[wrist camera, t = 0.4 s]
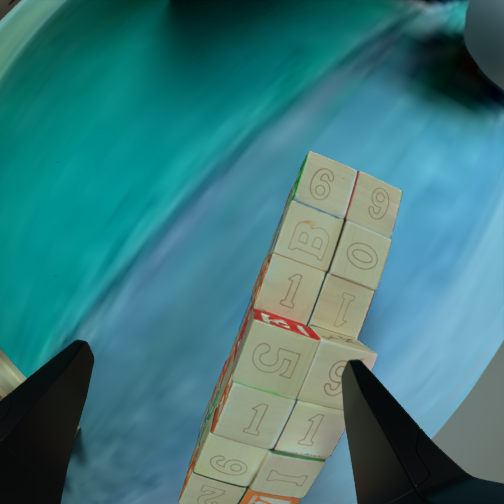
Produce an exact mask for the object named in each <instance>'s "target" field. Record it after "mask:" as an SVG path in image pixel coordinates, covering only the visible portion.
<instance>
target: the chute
mask: <svg viewBox="0 0 504 504" xmlns="http://www.w3.org/2000/svg"><path fill="white" fill-rule="evenodd" d="M26 379H27V378H26V377H25V376H24V375H23V374H22V373H21V372H20V371H19V370H18V369H17V367H16V366H15V365H14V364H13V363H12V362H11V361H10V360H9V358H8V357H7V356H6V355H5V354H4V353H3V351H2V350H1V349H0V395H1V396H2V397H3V398H4V397H5V396H7V395H8V394H9V393H10V392H12V391H13V390H14V389H15V388H16V387H18V386H19V385H20V384H21V383H22V382H24V381H25V380H26ZM79 429H80V427H79V426H78V428H77V432H76V435H77V433H78V431H79ZM76 435H75V437H76Z"/></svg>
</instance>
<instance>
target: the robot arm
mask: <svg viewBox="0 0 504 504" xmlns="http://www.w3.org/2000/svg"><path fill="white" fill-rule="evenodd" d="M93 365H94V355H93V353H92V351H91V349H90V346H89V344H88V343H87V342H86V341H83V340H75V341H74V342H73V343H71V344H70V345H69V346H68V347H66V348H65V349H64V350H62V351H61V352H60V353H59V354H57V355H56V356H55V357H54V358H52V359H51V360H50V361H49V362H47V363H46V364H45V365H43V366H42V367H41V368H40V369H38V370H37V371H36V372H35V373H34V374H32V375H31V376H30V377H29V378H27V379H26V380H25V381H24V382H22V383H21V384H20V385H19V386H18V387H16V388H15V389H14V390H13V391H12V392H10V393H9V394H8V395H7V396H5V397H4V398H3V399H2V400H0V504H61V498H62V493H63V486H64V482H65V477H66V472H67V468H68V464H69V459H70V455H71V451H72V447H73V443H74V439H75V435H76V432H77V428H78V425H79V421H80V418H81V414H82V411H83V407H84V404H85V401H86V397H87V393H88V388H89V383H90V378H91V374H92V369H93ZM341 383H342V397H343V412H344V421H345V427H346V433H347V439H348V444H349V450H350V456H351V462H352V469H353V475H354V482H355V489H356V496H357V503H358V504H504V484H503V483H498V482H493V481H487V480H483V479H479V478H476V477H473V476H471V475H469V474H468V473H466V472H465V471H464V470H463V469H461V467H459V466H458V465H457V464H456V463H455V462H454V461H453V460H452V459H451V458H449V457H448V456H447V455H446V454H445V453H444V452H443V451H442V450H441V449H439V447H438V446H437V445H435V443H434V442H433V441H432V440H431V439H430V438H429V437H428V436H427V435H426V434H425V432H424V431H423V430H422V429H420V427H419V426H418V424H417V423H416V422H415V421H414V420H413V419H412V418H411V416H410V415H409V414H408V413H407V412H406V411H405V410H404V408H403V407H402V406H401V405H400V404H399V403H398V402H397V400H396V399H395V398H394V397H393V396H392V395H391V394H390V392H389V391H388V390H387V389H386V388H385V387H384V386H383V385H382V383H381V382H380V381H379V380H378V379H377V378H376V377H375V375H374V374H373V373H372V372H371V371H370V370H369V369H368V368H367V366H366V365H365V364H364V363H363V362H362V361H361V360H359V359H352V360H348V361H347V363H346V366H345V368H344V370H343V373H342V376H341Z"/></svg>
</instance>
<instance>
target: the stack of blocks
mask: <svg viewBox="0 0 504 504" xmlns="http://www.w3.org/2000/svg"><path fill="white" fill-rule="evenodd" d="M401 198H402V191H401V190H399V189H397V188H395V187H393V186H391V185H389V184H387V183H385V182H383V181H381V180H379V179H377V178H375V177H373V176H371V175H368V174H366V173H364V172H362V171H356V170H355V169H353V168H351V167H348V166H346V165H344V164H341V163H339V162H337V161H334V160H331V159H329V158H327V157H325V156H322V155H319V154H317V153H314V152H312V151H309V152H308V154H307V155H306V157H305V159H304V161H303V164H302V165H301V168H300V171H299V174H298V176H297V179H296V181H295V183H294V185H293V187H292V189H291V192H290V194H289V197H288V200H287V203H286V206H285V208H284V211H283V214H282V217H281V220H280V222H279V223H278V225H277V227H276V230H275V233H274V236H273V238H272V241H271V244H270V246H269V249H268V252H267V254H266V257H265V260H264V262H263V265H262V267H261V270H260V273H259V275H258V278H257V281H256V283H255V286H254V289H253V291H252V296H251V299H250V302H249V304H248V307H247V309H246V312H245V315H244V317H243V320H242V322H241V325H240V328H239V331H238V333H237V336H236V338H235V341H234V343H233V346H232V349H231V351H230V354H229V356H228V359H227V360H226V362H225V364H224V367H223V369H222V372H221V374H220V377H219V379H218V382H217V384H216V387H215V389H214V391H213V393H212V396H211V398H210V401H209V403H208V406H207V408H206V410H205V413H204V416H203V420H202V423H201V426H200V429H199V431H200V432H199V435H198V440H197V444H196V446H195V449H194V451H193V454H192V457H191V460H190V464H189V467H188V471H187V476H186V478H185V481H184V485H183V488H182V492H181V495H180V498H179V503H180V504H297V503H298V502H299V500H300V498H303V497H304V496H305V495H306V493H307V492H308V490H309V489H310V488H311V486H312V484H313V483H314V481H315V480H316V478H317V476H318V475H319V473H320V472H321V470H322V468H323V466H324V465H325V459H327V458H329V457H330V456H331V454H332V452H333V451H334V449H335V447H336V445H337V443H338V442H339V440H340V438H341V436H342V434H343V432H344V430H345V428H346V427H345V421H344V412H343V397H342V383H341V376H342V373H343V370H344V368H345V366H346V363H347V361H348V360H352V359H359V360H361V361H362V362H363V363H364V364H365V365H366V366H367V368H368V369H369V370H370V371H372V369H373V366H374V364H375V362H376V359H377V356H378V354H377V353H375V352H373V351H372V350H371V349H369V348H368V347H366V346H365V345H364V344H362V343H361V342H360V341H358V340H357V339H358V336H359V334H360V331H361V329H362V326H363V323H364V321H365V318H366V315H367V313H368V310H369V307H370V304H371V302H372V299H373V296H374V292H375V291H376V290H377V288H378V285H379V282H380V279H381V276H382V273H383V270H384V266H385V263H386V260H387V256H388V253H389V250H390V246H391V243H392V240H391V236H392V233H393V230H394V226H395V222H396V218H397V214H398V211H399V206H400V202H401Z"/></svg>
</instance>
